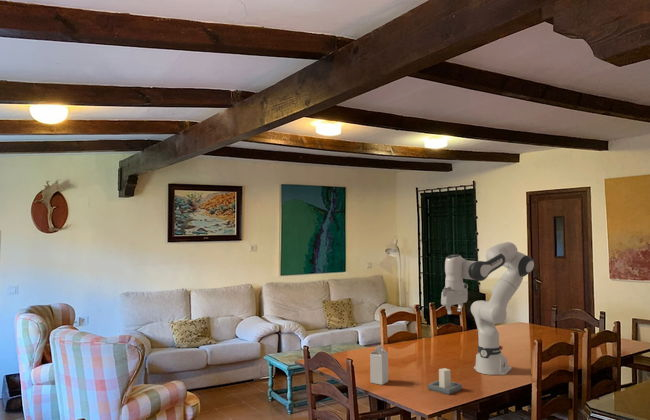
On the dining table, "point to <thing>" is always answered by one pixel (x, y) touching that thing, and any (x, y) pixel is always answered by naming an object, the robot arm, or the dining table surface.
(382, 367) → the milk carton
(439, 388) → the grey tray
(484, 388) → the dining table surface
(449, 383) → the cream block
